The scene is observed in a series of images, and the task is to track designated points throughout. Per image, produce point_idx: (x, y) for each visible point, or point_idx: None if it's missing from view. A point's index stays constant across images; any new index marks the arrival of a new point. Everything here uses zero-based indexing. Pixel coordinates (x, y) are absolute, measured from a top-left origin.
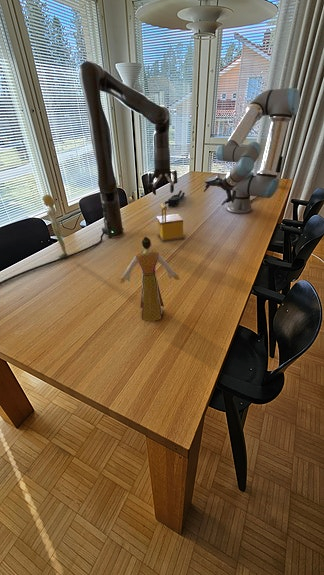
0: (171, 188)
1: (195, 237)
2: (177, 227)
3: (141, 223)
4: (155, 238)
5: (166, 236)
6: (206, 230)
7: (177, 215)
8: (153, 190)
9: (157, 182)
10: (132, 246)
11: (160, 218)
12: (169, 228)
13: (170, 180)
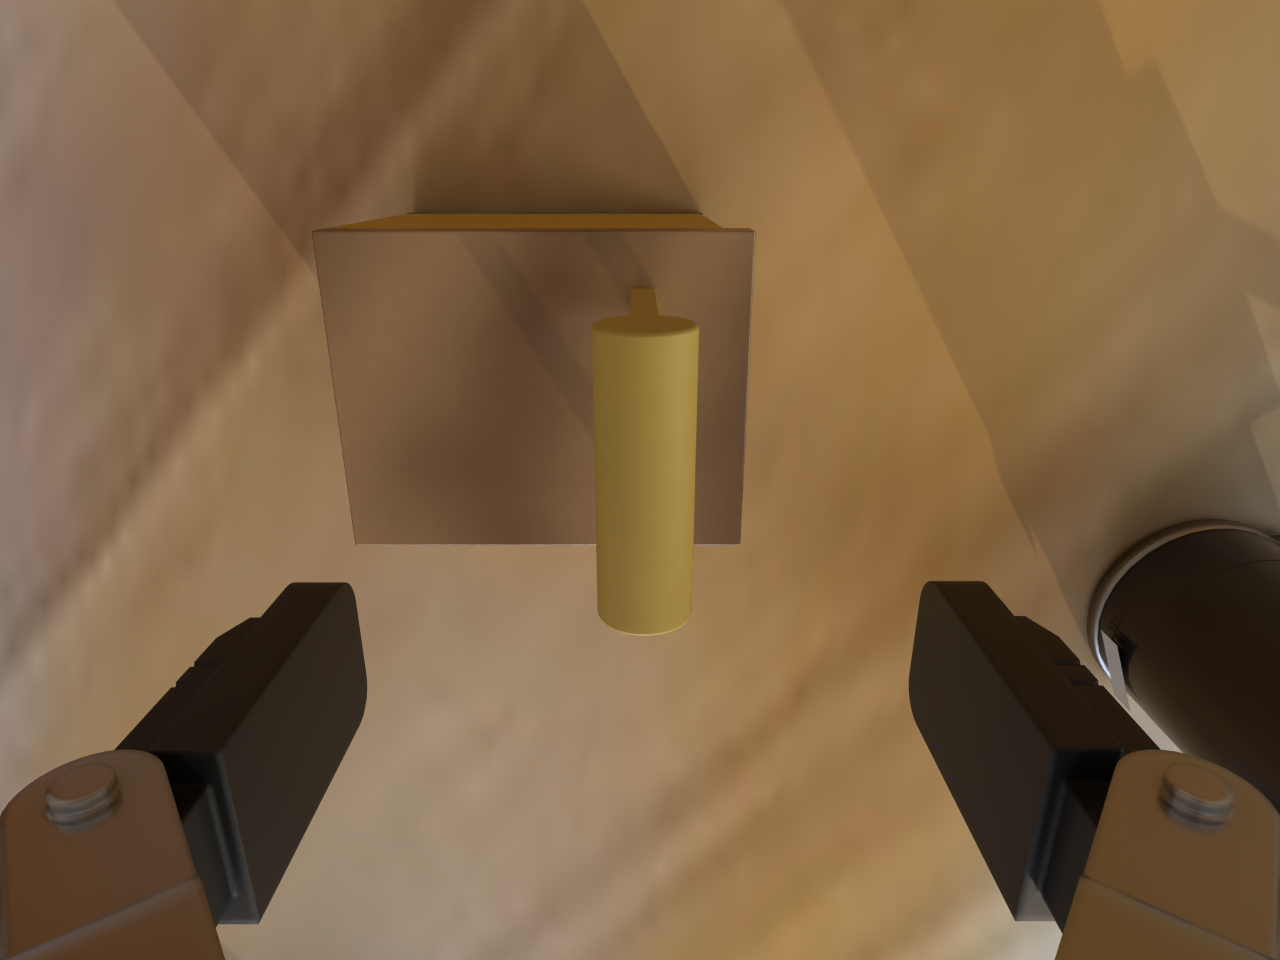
0: (274, 664)
1: (239, 191)
2: (456, 223)
3: (799, 806)
4: (764, 346)
5: (648, 216)
6: (52, 362)
7: (376, 469)
8: (1079, 692)
9: (1100, 910)
10: (1117, 206)
11: (697, 438)
12: (593, 223)
13: (83, 948)
